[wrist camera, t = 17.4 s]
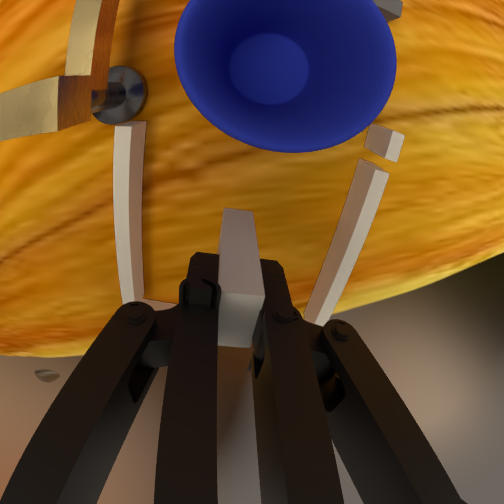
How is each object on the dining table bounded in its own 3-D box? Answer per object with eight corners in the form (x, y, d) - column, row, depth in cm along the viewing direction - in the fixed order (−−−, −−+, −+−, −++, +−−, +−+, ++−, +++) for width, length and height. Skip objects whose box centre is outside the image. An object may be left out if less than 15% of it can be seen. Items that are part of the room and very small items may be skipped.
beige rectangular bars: (134, 305, 27) (124, 330, 24) (136, 81, 16) (115, 81, 13) (308, 327, 29) (314, 353, 26) (382, 127, 18) (406, 135, 15)
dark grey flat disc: (92, 122, 17) (86, 124, 16) (98, 68, 15) (92, 67, 14) (143, 123, 17) (139, 125, 17) (151, 66, 15) (147, 65, 14)
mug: (330, -15, 12) (391, -71, 3) (321, 129, 18) (386, 165, 10) (213, -25, 11) (193, -99, 3) (205, 123, 18) (172, 151, 9)
